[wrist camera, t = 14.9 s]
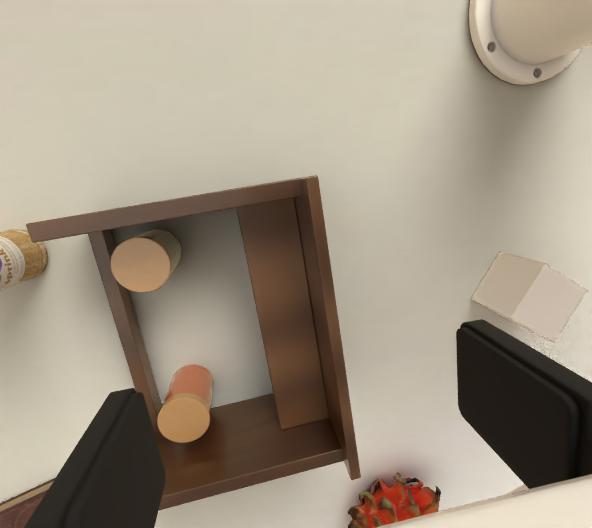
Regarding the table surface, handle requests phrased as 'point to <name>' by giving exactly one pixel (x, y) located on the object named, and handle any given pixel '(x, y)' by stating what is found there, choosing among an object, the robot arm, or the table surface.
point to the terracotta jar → (187, 405)
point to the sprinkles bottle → (19, 257)
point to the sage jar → (146, 260)
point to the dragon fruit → (393, 503)
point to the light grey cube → (529, 294)
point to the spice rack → (275, 332)
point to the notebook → (22, 507)
